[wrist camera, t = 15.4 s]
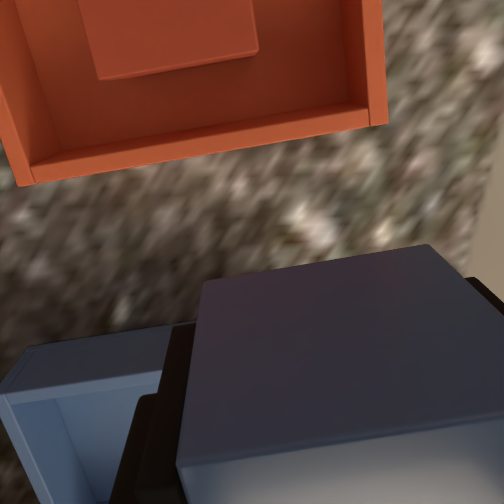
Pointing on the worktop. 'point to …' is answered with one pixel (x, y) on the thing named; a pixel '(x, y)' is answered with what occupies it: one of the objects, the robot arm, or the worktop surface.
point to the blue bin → (79, 409)
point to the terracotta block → (165, 34)
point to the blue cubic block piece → (345, 386)
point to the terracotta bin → (183, 90)
